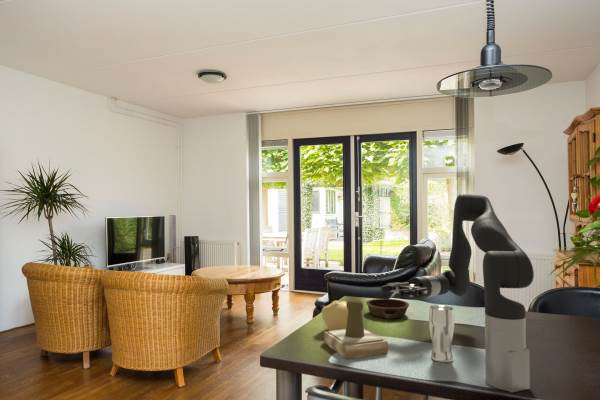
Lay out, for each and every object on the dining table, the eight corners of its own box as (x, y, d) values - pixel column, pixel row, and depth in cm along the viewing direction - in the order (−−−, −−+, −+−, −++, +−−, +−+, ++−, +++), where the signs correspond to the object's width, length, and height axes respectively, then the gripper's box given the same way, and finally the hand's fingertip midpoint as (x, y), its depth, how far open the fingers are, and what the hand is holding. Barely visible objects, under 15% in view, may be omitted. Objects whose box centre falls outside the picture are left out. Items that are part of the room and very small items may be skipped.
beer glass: (434, 353, 128) (434, 303, 128) (457, 358, 124) (457, 307, 124) (425, 359, 123) (425, 307, 123) (449, 365, 118) (449, 311, 119)
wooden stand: (387, 353, 128) (387, 339, 128) (346, 359, 123) (346, 345, 123) (361, 338, 143) (361, 326, 143) (324, 342, 138) (323, 330, 138)
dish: (402, 308, 186) (402, 297, 186) (415, 322, 164) (415, 309, 164) (363, 308, 186) (362, 297, 186) (370, 321, 164) (370, 309, 164)
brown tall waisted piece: (363, 338, 130) (363, 302, 130) (344, 337, 131) (344, 301, 131) (365, 332, 136) (364, 298, 136) (346, 331, 137) (346, 297, 137)
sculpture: (338, 324, 160) (338, 296, 160) (363, 331, 151) (363, 301, 151) (317, 330, 152) (317, 300, 152) (342, 338, 143) (341, 306, 143)
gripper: (409, 273, 156) (376, 277, 147) (440, 279, 144) (406, 283, 135) (409, 294, 156) (376, 299, 147) (440, 301, 144) (406, 306, 135)
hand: (390, 291), depth 141 cm, fingers open, 8 cm apart
